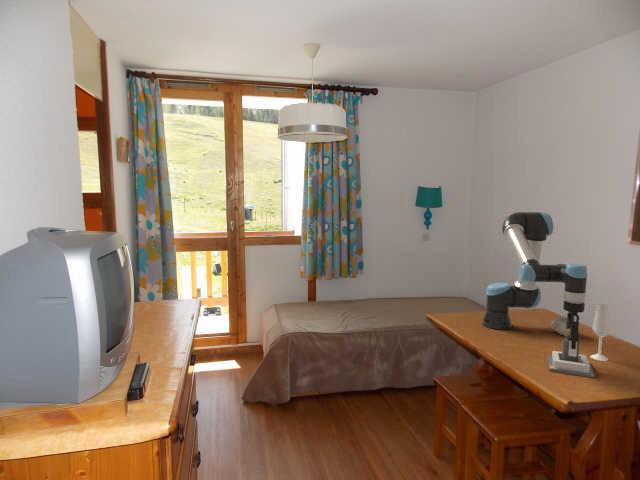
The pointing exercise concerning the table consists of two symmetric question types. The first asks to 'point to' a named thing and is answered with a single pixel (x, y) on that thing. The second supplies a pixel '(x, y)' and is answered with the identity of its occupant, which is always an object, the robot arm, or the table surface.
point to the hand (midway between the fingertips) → (570, 350)
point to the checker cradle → (570, 365)
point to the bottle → (566, 348)
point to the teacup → (560, 325)
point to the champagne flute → (601, 327)
